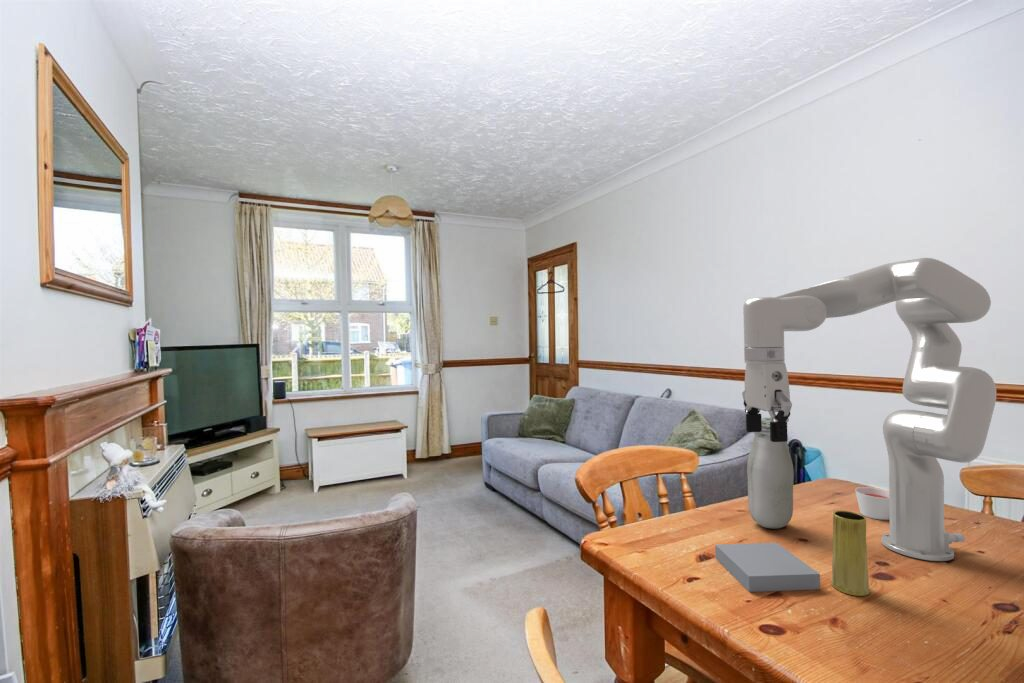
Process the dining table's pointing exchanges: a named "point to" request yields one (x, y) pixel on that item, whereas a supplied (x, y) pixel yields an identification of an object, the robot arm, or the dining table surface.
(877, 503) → the candle
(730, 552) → the plinth
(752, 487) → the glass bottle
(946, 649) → the dining table surface
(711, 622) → the dining table surface
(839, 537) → the vase
